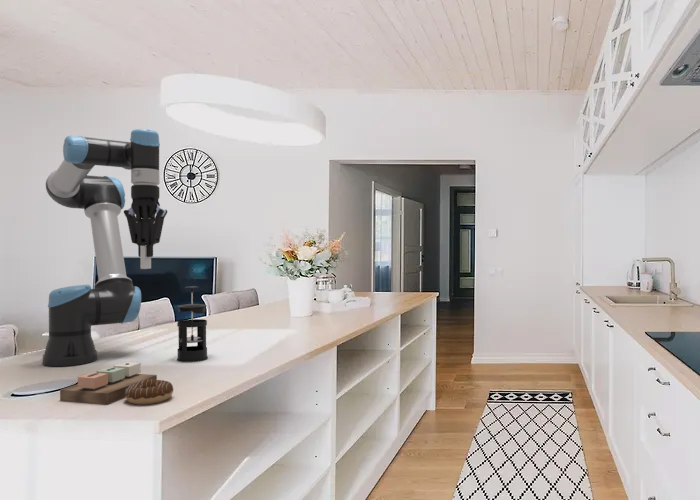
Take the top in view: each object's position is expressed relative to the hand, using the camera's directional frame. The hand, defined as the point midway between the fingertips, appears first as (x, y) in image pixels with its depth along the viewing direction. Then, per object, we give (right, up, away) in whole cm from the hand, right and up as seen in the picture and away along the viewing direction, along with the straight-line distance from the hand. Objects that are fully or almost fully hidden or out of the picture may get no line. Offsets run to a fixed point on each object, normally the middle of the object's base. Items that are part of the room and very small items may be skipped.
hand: (145, 268), depth 152 cm
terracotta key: (-2, -26, -27) cm, 38 cm away
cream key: (+1, -26, -15) cm, 30 cm away
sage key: (0, -26, -21) cm, 34 cm away
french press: (+8, -29, +18) cm, 35 cm away
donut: (+11, -30, -27) cm, 42 cm away
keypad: (-1, -29, -21) cm, 36 cm away
